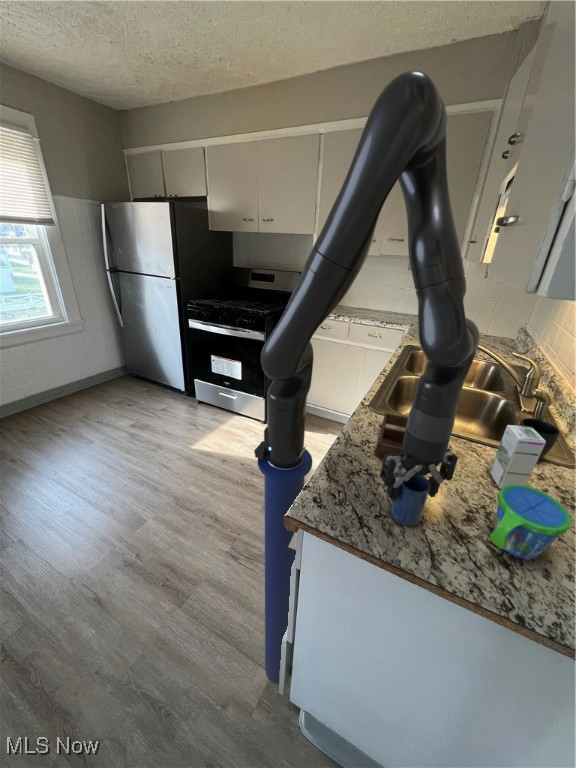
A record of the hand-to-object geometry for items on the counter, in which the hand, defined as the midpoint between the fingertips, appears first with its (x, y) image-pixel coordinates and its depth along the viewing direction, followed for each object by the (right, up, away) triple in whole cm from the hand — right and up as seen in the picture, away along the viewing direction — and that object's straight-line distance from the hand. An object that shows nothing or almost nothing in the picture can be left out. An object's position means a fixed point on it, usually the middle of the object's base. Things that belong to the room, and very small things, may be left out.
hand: (411, 495), depth 64 cm
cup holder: (+6, +6, +25) cm, 27 cm away
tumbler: (0, -5, +2) cm, 5 cm away
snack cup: (+19, -8, -3) cm, 21 cm away
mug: (+38, +3, +22) cm, 44 cm away
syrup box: (+28, -1, +12) cm, 30 cm away
